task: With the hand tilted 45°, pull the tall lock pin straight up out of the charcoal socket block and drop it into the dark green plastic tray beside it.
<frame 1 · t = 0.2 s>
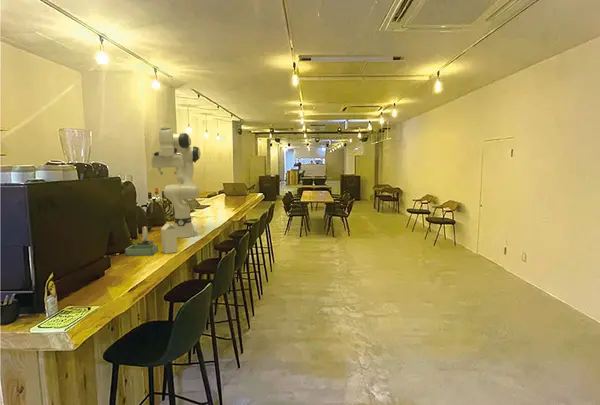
hand: (168, 174, 241), 48 cm above the countertop, tool pointing down, fingers open, 8 cm apart
tray: (142, 253, 228), on the countertop
lock pin: (145, 238, 236), in the socket block
socket block: (145, 249, 237), on the countertop
milk carton: (169, 252, 231), on the countertop
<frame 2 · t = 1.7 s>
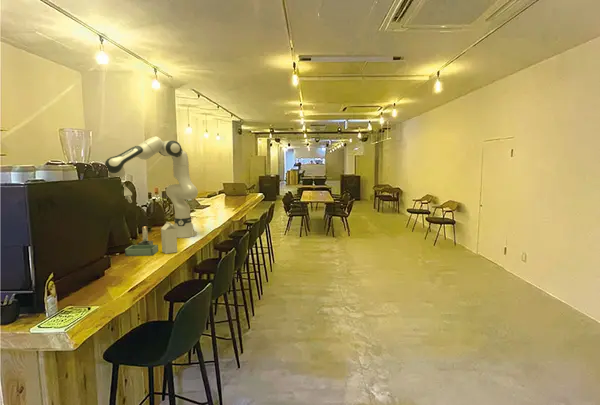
hand: (126, 203, 236), 30 cm above the countertop, tool tilted 45°, fingers open, 8 cm apart
nothing on the countertop moved.
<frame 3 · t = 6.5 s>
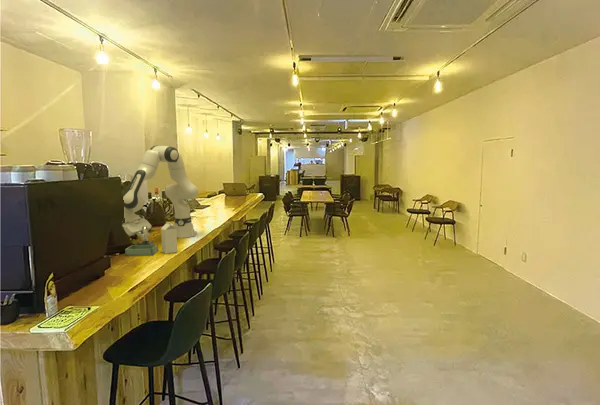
hand: (146, 236, 236), 8 cm above the countertop, tool tilted 45°, fingers closed on lock pin, 3 cm apart
lock pin: (145, 238, 236), in the socket block, touching gripper
everything else where it was.
when the fingers open (11 cm above the countertop, at t = 13.9 s): lock pin drops 2 cm, resting on tray.
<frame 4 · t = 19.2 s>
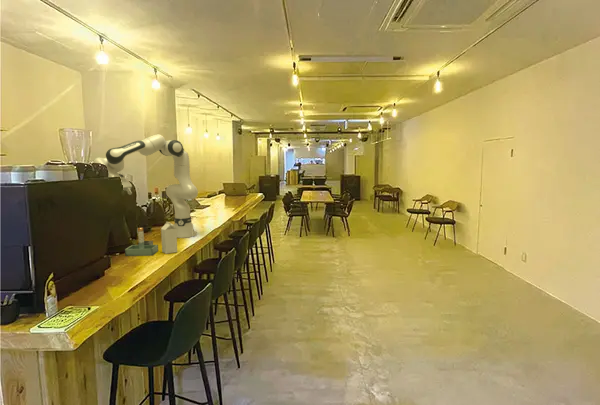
hand: (125, 194, 234), 35 cm above the countertop, tool tilted 45°, fingers open, 8 cm apart
lock pin: (141, 239, 227), in the tray, point 8 cm above the countertop
everything else where it was.
at the end: lock pin inside the target area on the tray (0.1 cm from its centre), point 8.5 cm above the tray's base; lock pin moved 9.5 cm from its start; the gripper is holding nothing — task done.
